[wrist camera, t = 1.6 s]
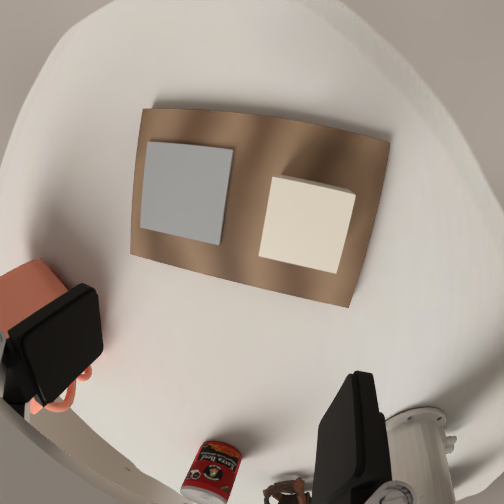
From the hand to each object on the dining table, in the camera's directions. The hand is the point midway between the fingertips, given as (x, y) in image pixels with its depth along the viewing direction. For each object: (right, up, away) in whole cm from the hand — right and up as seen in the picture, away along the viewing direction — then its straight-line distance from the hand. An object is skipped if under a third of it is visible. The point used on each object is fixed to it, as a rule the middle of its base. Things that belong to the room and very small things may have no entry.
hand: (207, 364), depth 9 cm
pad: (-5, +10, +18) cm, 21 cm away
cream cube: (+6, +7, +16) cm, 18 cm away
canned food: (-4, -32, +32) cm, 45 cm away
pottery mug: (+10, -43, +33) cm, 55 cm away
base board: (+1, +9, +18) cm, 20 cm away
